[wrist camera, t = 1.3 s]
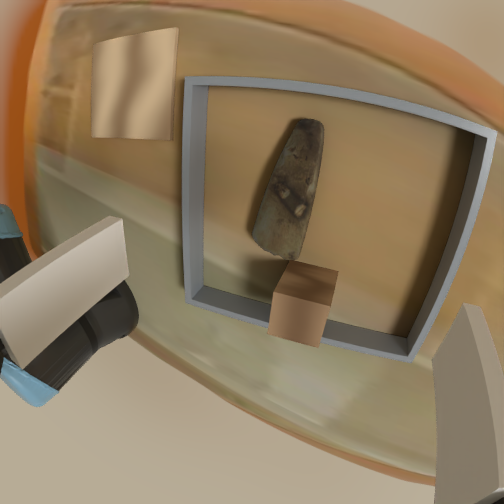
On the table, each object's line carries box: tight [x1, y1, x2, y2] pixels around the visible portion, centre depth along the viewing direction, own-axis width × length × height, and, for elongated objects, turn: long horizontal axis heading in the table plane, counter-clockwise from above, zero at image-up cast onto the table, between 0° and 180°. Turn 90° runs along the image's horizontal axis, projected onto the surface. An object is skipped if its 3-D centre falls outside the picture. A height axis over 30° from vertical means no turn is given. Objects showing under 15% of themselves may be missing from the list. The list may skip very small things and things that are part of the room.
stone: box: [252, 119, 324, 260], centre depth 27 cm, size 13×5×2 cm, turn 170°
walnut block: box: [267, 260, 338, 348], centre depth 30 cm, size 5×5×6 cm
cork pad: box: [91, 28, 179, 141], centre depth 28 cm, size 12×12×1 cm
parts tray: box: [182, 76, 497, 363], centre depth 27 cm, size 26×24×3 cm
